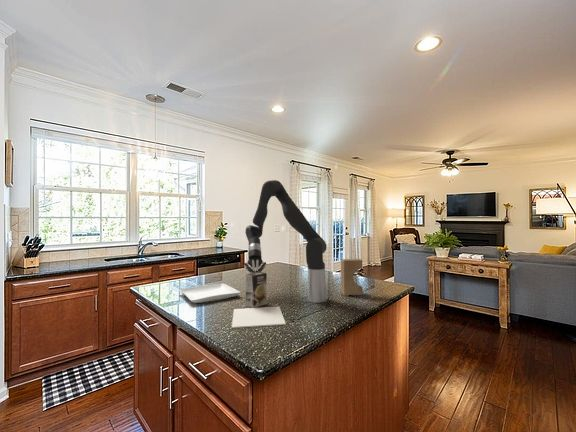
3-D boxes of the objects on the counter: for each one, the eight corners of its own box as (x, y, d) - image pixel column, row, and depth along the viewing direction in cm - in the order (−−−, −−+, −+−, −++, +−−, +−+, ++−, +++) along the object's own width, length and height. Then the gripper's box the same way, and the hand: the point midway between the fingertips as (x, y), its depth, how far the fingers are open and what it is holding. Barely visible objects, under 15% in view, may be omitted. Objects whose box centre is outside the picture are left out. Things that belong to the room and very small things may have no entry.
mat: (279, 307, 136) (279, 306, 136) (285, 324, 115) (285, 323, 115) (233, 310, 133) (233, 309, 133) (231, 328, 111) (231, 327, 111)
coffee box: (253, 308, 135) (253, 275, 135) (245, 305, 139) (245, 273, 139) (267, 304, 142) (267, 272, 142) (258, 301, 146) (258, 271, 146)
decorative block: (358, 292, 163) (358, 258, 163) (362, 295, 157) (362, 260, 157) (340, 293, 161) (340, 259, 161) (344, 296, 155) (344, 260, 155)
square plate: (241, 298, 154) (241, 291, 154) (190, 307, 138) (190, 299, 138) (223, 288, 176) (223, 282, 176) (178, 295, 161) (178, 288, 161)
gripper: (243, 248, 158) (243, 274, 145) (266, 248, 160) (268, 273, 147) (243, 256, 163) (243, 282, 151) (265, 256, 165) (267, 281, 153)
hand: (255, 278), depth 149 cm, fingers closed
